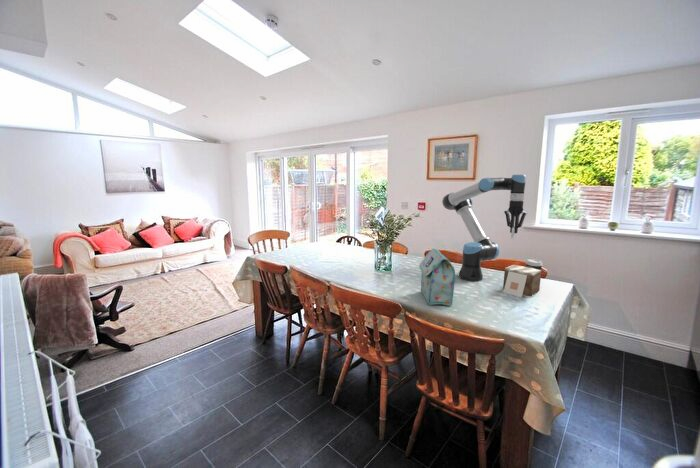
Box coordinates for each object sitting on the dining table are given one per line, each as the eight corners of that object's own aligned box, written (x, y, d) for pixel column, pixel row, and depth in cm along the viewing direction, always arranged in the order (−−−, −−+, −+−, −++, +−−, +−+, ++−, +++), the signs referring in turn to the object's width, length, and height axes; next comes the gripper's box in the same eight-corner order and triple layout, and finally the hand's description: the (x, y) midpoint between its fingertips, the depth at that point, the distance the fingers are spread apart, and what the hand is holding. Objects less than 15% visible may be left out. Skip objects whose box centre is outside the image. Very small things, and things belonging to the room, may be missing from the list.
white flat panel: (503, 292, 188) (503, 292, 187) (509, 271, 189) (508, 271, 188) (521, 297, 180) (521, 297, 179) (527, 275, 181) (526, 275, 180)
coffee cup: (543, 286, 196) (545, 263, 194) (526, 285, 198) (528, 262, 196) (537, 281, 206) (539, 259, 203) (521, 280, 208) (523, 258, 205)
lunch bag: (417, 291, 190) (418, 247, 185) (444, 291, 190) (447, 247, 185) (424, 306, 167) (426, 257, 163) (456, 307, 167) (459, 257, 162)
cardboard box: (502, 288, 193) (504, 268, 191) (511, 284, 201) (513, 264, 199) (531, 296, 181) (533, 274, 179) (539, 291, 189) (541, 270, 187)
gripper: (503, 200, 196) (499, 237, 200) (525, 201, 186) (521, 240, 190) (508, 199, 201) (505, 236, 205) (530, 200, 191) (526, 238, 195)
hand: (513, 238), depth 198 cm, fingers closed
